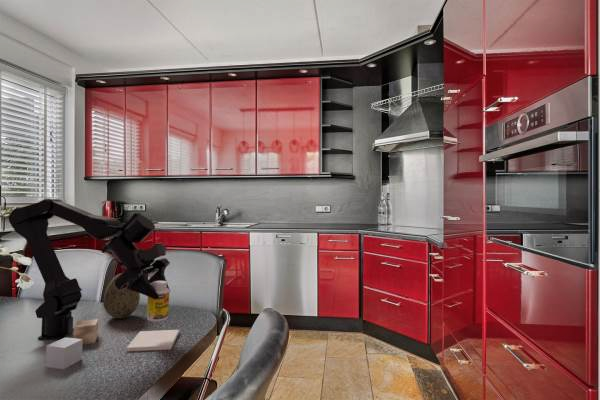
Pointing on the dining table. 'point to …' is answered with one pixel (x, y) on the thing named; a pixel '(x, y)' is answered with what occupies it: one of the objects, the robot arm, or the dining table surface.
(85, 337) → the birch block
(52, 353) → the pale grey block
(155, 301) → the supplement bottle
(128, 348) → the cream square tile
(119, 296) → the decorative egg
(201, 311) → the dining table surface
